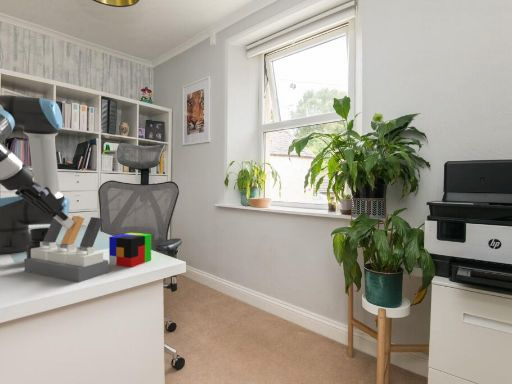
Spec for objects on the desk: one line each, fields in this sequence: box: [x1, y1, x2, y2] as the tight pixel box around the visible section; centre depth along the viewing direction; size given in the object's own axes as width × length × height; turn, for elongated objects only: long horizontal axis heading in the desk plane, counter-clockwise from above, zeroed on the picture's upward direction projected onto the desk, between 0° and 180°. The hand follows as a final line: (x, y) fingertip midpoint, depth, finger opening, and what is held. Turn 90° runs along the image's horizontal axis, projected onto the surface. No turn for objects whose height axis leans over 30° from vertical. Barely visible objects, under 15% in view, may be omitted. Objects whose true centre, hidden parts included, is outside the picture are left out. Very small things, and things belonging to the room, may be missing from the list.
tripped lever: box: [60, 215, 85, 249], centre depth 94 cm, size 2×3×11 cm, turn 68°
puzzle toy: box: [108, 232, 152, 268], centre depth 104 cm, size 10×10×10 cm
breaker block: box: [23, 216, 109, 283], centre depth 92 cm, size 10×26×18 cm, turn 68°
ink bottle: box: [25, 227, 58, 259], centre depth 104 cm, size 10×9×12 cm
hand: (70, 225), depth 93 cm, fingers closed
